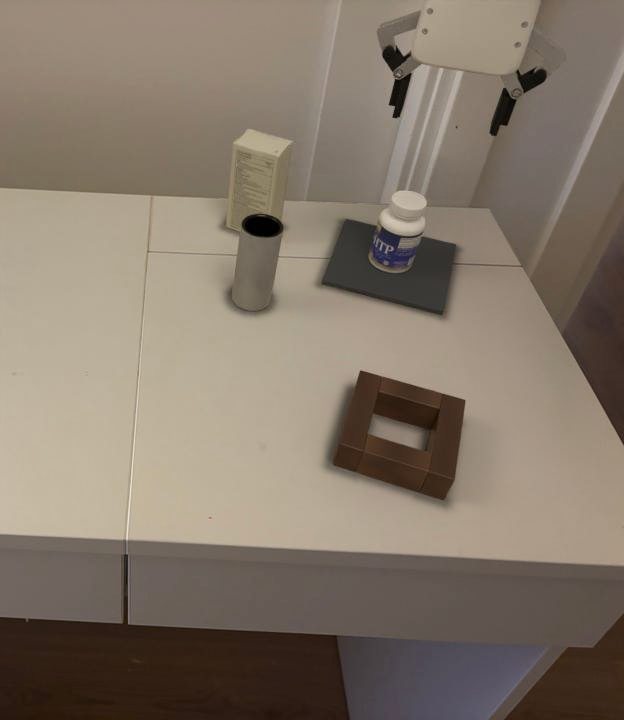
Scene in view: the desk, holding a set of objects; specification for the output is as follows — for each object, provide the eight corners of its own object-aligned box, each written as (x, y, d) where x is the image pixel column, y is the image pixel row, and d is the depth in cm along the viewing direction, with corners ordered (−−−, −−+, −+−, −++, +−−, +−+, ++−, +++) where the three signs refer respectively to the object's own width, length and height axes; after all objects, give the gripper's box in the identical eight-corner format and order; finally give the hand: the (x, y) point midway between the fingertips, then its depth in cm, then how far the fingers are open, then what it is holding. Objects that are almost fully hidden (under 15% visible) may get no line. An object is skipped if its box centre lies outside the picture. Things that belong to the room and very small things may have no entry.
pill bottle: (359, 253, 92) (376, 191, 86) (395, 244, 94) (414, 183, 87) (383, 278, 89) (403, 215, 83) (420, 269, 90) (442, 207, 84)
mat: (455, 247, 95) (456, 244, 94) (442, 315, 85) (443, 311, 85) (345, 222, 98) (346, 218, 98) (321, 284, 89) (322, 280, 89)
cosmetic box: (281, 226, 97) (296, 141, 89) (266, 243, 95) (280, 157, 86) (238, 211, 100) (248, 126, 91) (222, 227, 97) (232, 141, 88)
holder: (455, 421, 74) (466, 399, 72) (443, 500, 67) (454, 479, 65) (353, 391, 77) (360, 369, 74) (332, 464, 70) (339, 443, 68)
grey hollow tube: (253, 281, 89) (264, 208, 82) (278, 302, 86) (292, 228, 79) (223, 295, 87) (232, 221, 80) (248, 316, 85) (260, 242, 77)
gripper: (607, -63, 65) (534, 121, 77) (406, -84, 70) (367, 92, 82) (610, -38, 60) (532, 154, 72) (393, -63, 65) (353, 121, 77)
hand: (444, 121), depth 77 cm, fingers open, 9 cm apart
